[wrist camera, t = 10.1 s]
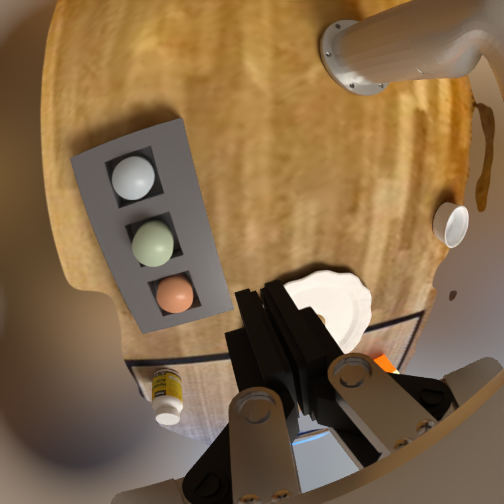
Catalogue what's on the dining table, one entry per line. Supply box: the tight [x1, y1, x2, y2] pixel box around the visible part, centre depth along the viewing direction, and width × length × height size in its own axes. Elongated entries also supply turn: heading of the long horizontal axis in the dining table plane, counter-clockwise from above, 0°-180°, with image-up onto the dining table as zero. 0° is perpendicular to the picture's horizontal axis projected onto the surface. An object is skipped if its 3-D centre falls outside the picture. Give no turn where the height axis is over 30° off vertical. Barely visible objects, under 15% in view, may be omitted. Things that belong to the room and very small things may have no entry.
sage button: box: [132, 220, 174, 267], centre depth 31 cm, size 5×5×3 cm
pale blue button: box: [112, 155, 156, 200], centre depth 29 cm, size 5×5×3 cm
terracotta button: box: [157, 272, 193, 313], centre depth 36 cm, size 5×5×3 cm
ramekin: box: [433, 202, 468, 248], centre depth 45 cm, size 9×9×4 cm
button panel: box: [70, 118, 234, 334], centre depth 33 cm, size 14×26×4 cm, turn 11°
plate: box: [262, 270, 372, 354], centre depth 48 cm, size 25×25×2 cm
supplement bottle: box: [152, 369, 183, 425], centre depth 42 cm, size 5×5×10 cm
